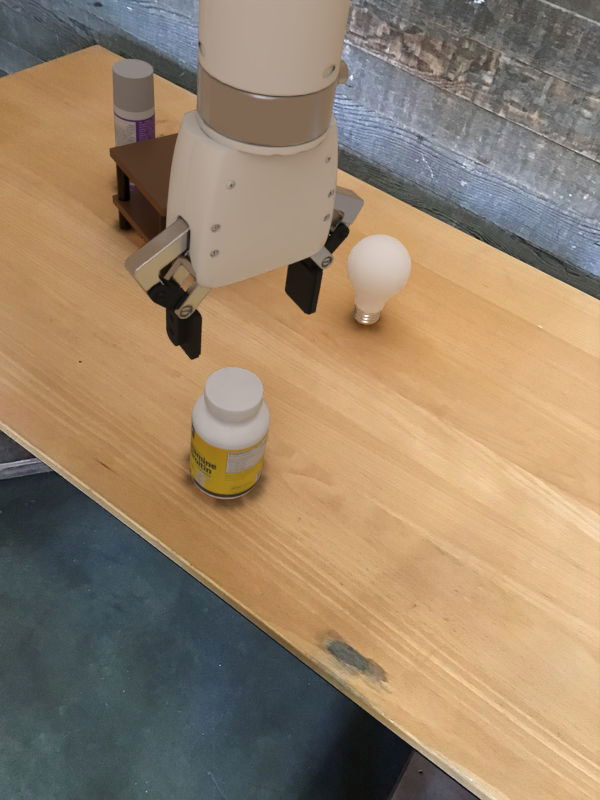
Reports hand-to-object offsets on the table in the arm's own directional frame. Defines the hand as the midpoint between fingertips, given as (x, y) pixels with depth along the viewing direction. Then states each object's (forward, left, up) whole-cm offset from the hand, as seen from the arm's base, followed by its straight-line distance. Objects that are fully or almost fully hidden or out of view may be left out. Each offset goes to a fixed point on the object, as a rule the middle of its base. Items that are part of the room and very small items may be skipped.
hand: (244, 323), depth 54 cm
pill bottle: (0, 0, -19) cm, 19 cm away
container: (+13, +43, -19) cm, 49 cm away
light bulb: (+24, +10, -19) cm, 32 cm away
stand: (+14, +31, -19) cm, 39 cm away
